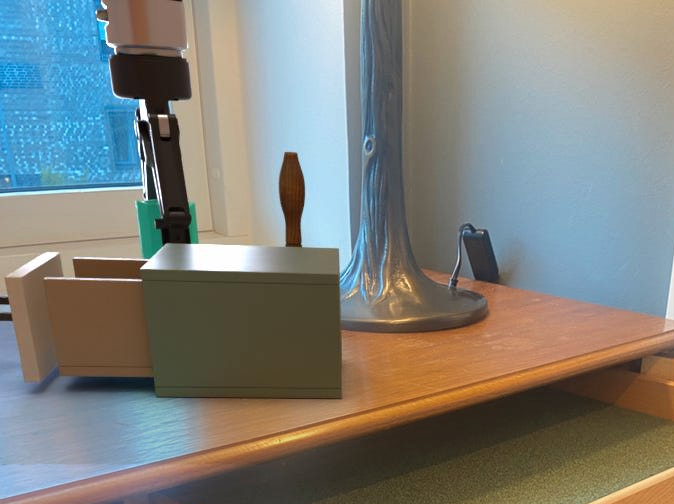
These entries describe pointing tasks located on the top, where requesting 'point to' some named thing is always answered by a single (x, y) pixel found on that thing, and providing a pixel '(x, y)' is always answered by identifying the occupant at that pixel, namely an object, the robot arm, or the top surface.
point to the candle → (152, 236)
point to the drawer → (79, 317)
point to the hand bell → (292, 198)
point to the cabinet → (244, 321)
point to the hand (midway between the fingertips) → (174, 284)
